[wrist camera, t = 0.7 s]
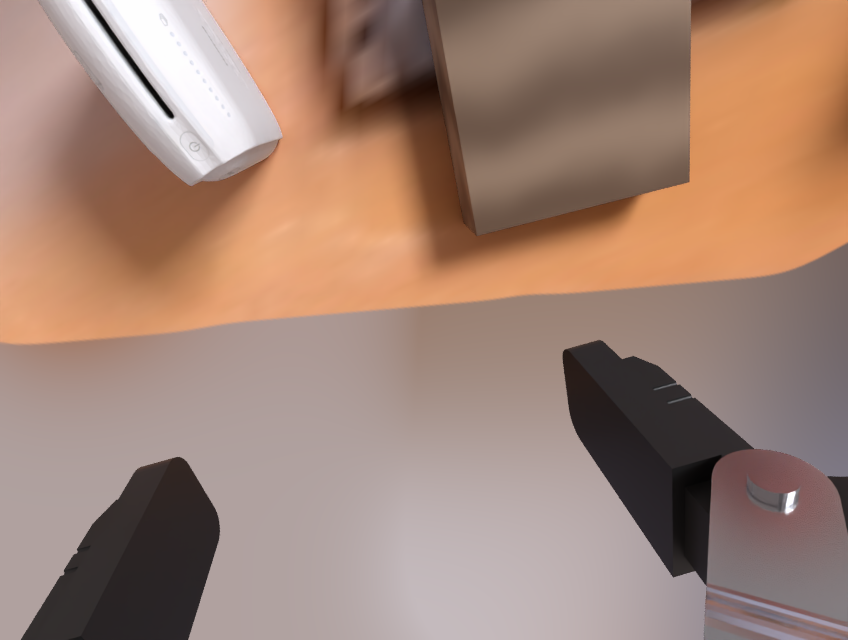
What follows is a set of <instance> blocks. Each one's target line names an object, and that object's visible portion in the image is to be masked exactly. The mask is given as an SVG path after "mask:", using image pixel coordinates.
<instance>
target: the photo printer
mask: <svg viewBox="0 0 848 640" xmlns="http://www.w3.org/2000/svg"><path fill="white" fill-rule="evenodd" d="M38 1H39V3H40V5H41V6H42V8H43V10H44V11H45V13H46V14H47V16H48V18H49V19H50V21H51V22H52V24H53V25H54V27H55V28H56V30H57V31H58V33H59V34H60V36H61V37H62V39H63V40H64V42H65V43H66V44H67V46H68V47H69V49H70V50H71V52H72V53H73V55H74V56H75V57H76V59H77V60H78V61H79V63H80V64H81V66H82V67H83V68H84V70H85V71H86V72H87V74H88V75H89V76H90V78H91V79H92V80H93V82H94V83H95V84H96V86H97V87H98V88H99V90H100V91H101V92H102V94H103V95H104V96H105V98H106V99H107V100H108V101H109V103H110V104H111V105H112V106H113V108H114V109H115V110H116V111H117V113H118V114H119V115H120V117H121V118H122V119H123V120H124V121H125V122H126V124H127V125H128V126H129V127H130V128H131V130H132V131H133V132H134V133H135V134H136V135H137V137H138V138H139V139H140V140H141V141H142V142H143V143H144V145H145V146H146V147H147V148H148V149H149V150H150V151H151V152H152V153H153V154H154V155H155V156H156V157H157V158H158V159H159V160H160V161H161V162H162V163H163V164H164V165H165V166H166V167H167V168H168V169H170V170H171V171H172V172H173V173H174V174H175V175H176V176H177V177H179V178H180V179H181V180H182V181H184V182H185V183H186V184H188V185H189V186H193V185H195V184H197V183H199V182H201V181H219V180H223V179H226V178H228V177H231V176H233V175H235V174H237V173H239V172H241V171H243V170H245V169H247V168H249V167H251V166H253V165H254V164H256V163H258V162H260V161H262V160H264V159H265V158H267V157H268V156H269V155H271V153H272V152H273V151H274V149H275V148H276V146H277V143H278V140H279V139H281V138H283V136H282V133H281V130H280V127H279V125H278V123H277V120H276V118H275V116H274V114H273V113H272V111H271V109H270V107H269V106H268V104H267V102H266V100H265V99H264V97H263V95H262V94H261V92H260V90H259V89H258V87H257V85H256V84H255V82H254V80H253V79H252V77H251V75H250V74H249V72H248V70H247V69H246V67H245V66H244V64H243V62H242V61H241V59H240V58H239V56H238V54H237V53H236V51H235V50H234V48H233V47H232V45H231V44H230V42H229V40H228V39H227V37H226V36H225V34H224V33H223V31H222V30H221V28H220V27H219V25H218V24H217V22H216V21H215V19H214V18H213V16H212V15H211V13H210V12H209V10H208V9H207V7H206V6H205V4H204V3H203V1H202V0H38Z"/></svg>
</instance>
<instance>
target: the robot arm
mask: <svg viewBox="0 0 848 640" xmlns="http://www.w3.org/2000/svg"><path fill="white" fill-rule="evenodd" d="M563 366H564V374H565V381H566V389H567V397H568V405H569V411H570V416H571V419H572V423H573V426H574V428H575V431H576V433H577V435H578V436H579V438H580V440H581V442H582V443H583V445H584V446H585V447H586V449H587V450H588V452H589V453H590V455H591V456H592V458H593V459H594V461H595V462H596V464H597V465H598V467H599V468H600V470H601V471H602V473H603V474H604V476H605V477H606V478H607V480H608V482H609V483H610V484H611V486H612V487H613V489H614V490H615V492H616V493H617V495H618V496H619V498H620V499H621V501H622V502H623V504H624V505H625V507H626V508H627V510H628V511H629V513H630V514H631V515H632V517H633V518H634V520H635V522H636V523H637V525H638V526H639V528H640V529H641V530H642V532H643V533H644V535H645V536H646V538H647V539H648V541H649V542H650V544H651V545H652V547H653V548H654V550H655V551H656V553H657V554H658V556H659V557H660V559H661V560H662V562H663V563H664V565H665V566H666V568H667V569H668V571H669V572H670V573H671V575H672V576H673V577H676V576H679V575H683V574H686V573H690V572H693V571H696V572H697V574H698V575H699V577H700V578H701V579H702V580H703V582H704V583H705V585H706V586H707V588H706V603H705V622H704V640H848V477H832V476H826V475H825V474H823V473H822V472H821V471H820V470H818V469H817V468H815V467H814V466H812V465H811V464H808V463H807V462H805V461H803V460H801V459H799V458H796V457H794V456H791V455H788V454H784V453H781V452H776V451H771V450H763V449H762V450H761V449H754V448H753V447H751V446H750V445H749V444H748V443H747V442H746V441H745V440H743V439H742V438H741V437H740V436H739V435H738V434H736V433H735V432H734V431H733V430H732V429H730V428H729V427H728V426H727V425H726V424H725V423H724V422H723V421H721V420H720V419H719V418H718V417H717V416H716V415H714V414H713V413H712V412H711V411H709V409H707V408H706V407H705V406H704V405H703V404H702V403H700V402H699V401H698V400H697V399H696V398H692V397H691V394H690V393H689V392H688V391H686V390H685V389H684V388H683V387H682V386H681V385H677V383H676V381H675V380H674V379H672V378H671V377H670V376H669V375H668V374H667V373H665V372H664V371H663V370H662V369H661V368H660V367H658V366H656V365H654V364H652V363H649V362H646V361H644V360H642V359H639V358H637V357H634V356H632V357H628V358H625V359H621V358H620V357H619V356H618V355H617V354H616V353H615V352H614V351H613V350H612V349H610V348H609V347H608V346H607V345H606V344H605V343H604V342H603V341H601V340H597V341H594V342H590V343H587V344H583V345H580V346H576V347H572V348H569V349H565V350H564V351H563ZM219 535H220V525H219V519H218V515H217V512H216V510H215V508H214V506H213V504H212V503H211V501H210V499H209V498H208V496H207V494H206V493H205V491H204V489H203V488H202V486H201V484H200V483H199V481H198V479H197V478H196V476H195V474H194V473H193V471H192V469H191V468H190V466H189V464H188V463H187V462H186V461H185V460H184V459H183V458H180V457H176V458H172V459H168V460H165V461H161V462H158V463H154V464H150V465H147V466H143V467H140V468H139V469H137V470H136V471H135V473H134V474H133V476H132V477H131V479H130V481H129V483H128V484H127V486H126V487H125V489H124V491H123V493H122V494H121V496H120V498H119V499H118V500H116V501H115V502H114V503H113V504H112V505H111V506H110V507H109V508H108V509H107V510H106V511H105V512H104V513H103V514H102V515H101V516H100V517H99V518H98V519H97V520H96V521H95V522H94V523H93V524H92V526H91V528H90V529H89V531H88V533H87V534H86V536H85V537H84V539H83V540H82V542H81V544H80V545H79V547H78V548H77V551H78V553H77V554H74V555H73V557H72V558H71V560H70V562H69V563H68V565H67V566H66V568H65V569H64V572H65V573H64V575H63V576H60V578H59V579H58V581H57V582H56V584H55V586H54V587H53V589H52V590H51V592H50V594H49V596H48V597H47V598H46V600H45V602H44V603H43V605H42V607H41V609H40V610H39V611H38V613H37V615H36V616H35V618H34V620H33V621H32V623H31V624H30V626H29V628H28V629H27V631H26V632H25V634H24V636H23V637H22V639H21V640H188V638H189V635H190V632H191V628H192V625H193V622H194V619H195V616H196V612H197V609H198V606H199V603H200V599H201V596H202V593H203V590H204V587H205V583H206V580H207V577H208V573H209V570H210V567H211V564H212V561H213V557H214V554H215V551H216V548H217V544H218V541H219Z"/></svg>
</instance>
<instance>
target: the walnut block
mask: <svg viewBox="0 0 848 640" xmlns="http://www.w3.org/2000/svg"><path fill="white" fill-rule="evenodd" d="M422 3H423V9H424V14H425V19H426V25H427V30H428V35H429V41H430V46H431V51H432V57H433V62H434V67H435V72H436V78H437V83H438V88H439V94H440V99H441V104H442V110H443V115H444V120H445V126H446V131H447V136H448V142H449V147H450V152H451V157H452V163H453V168H454V173H455V179H456V184H457V189H458V195H459V200H460V205H461V211H462V216H463V221H464V224H465V225H466V226H467V227H468V228H469V229H470V230H471V231H472V232H474V233H475V234H476V235H477V236H479V235H483V234H487V233H491V232H495V231H499V230H502V229H506V228H510V227H514V226H518V225H522V224H526V223H530V222H534V221H538V220H542V219H546V218H550V217H554V216H558V215H562V214H565V213H569V212H573V211H577V210H581V209H585V208H589V207H593V206H597V205H601V204H605V203H609V202H613V201H617V200H621V199H624V198H628V197H632V196H636V195H640V194H644V193H648V192H652V191H656V190H660V189H664V188H668V187H672V186H676V185H680V184H684V183H687V182H689V171H690V54H691V0H422Z"/></svg>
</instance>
